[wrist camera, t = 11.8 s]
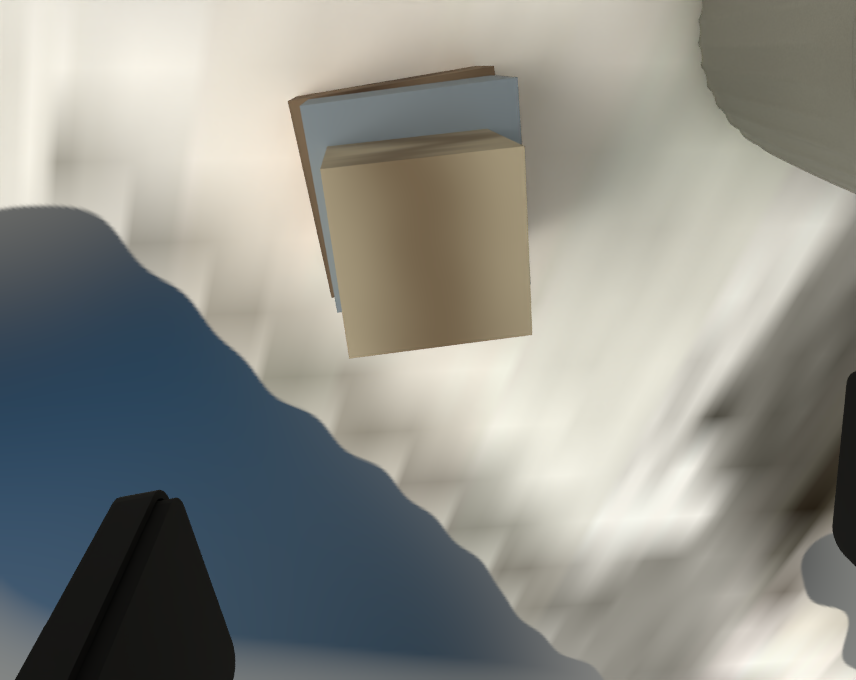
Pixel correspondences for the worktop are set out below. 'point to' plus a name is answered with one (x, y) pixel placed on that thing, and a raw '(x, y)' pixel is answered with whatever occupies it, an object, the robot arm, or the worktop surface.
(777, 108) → the canister
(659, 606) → the worktop surface
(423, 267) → the oak cube
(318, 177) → the tower top
